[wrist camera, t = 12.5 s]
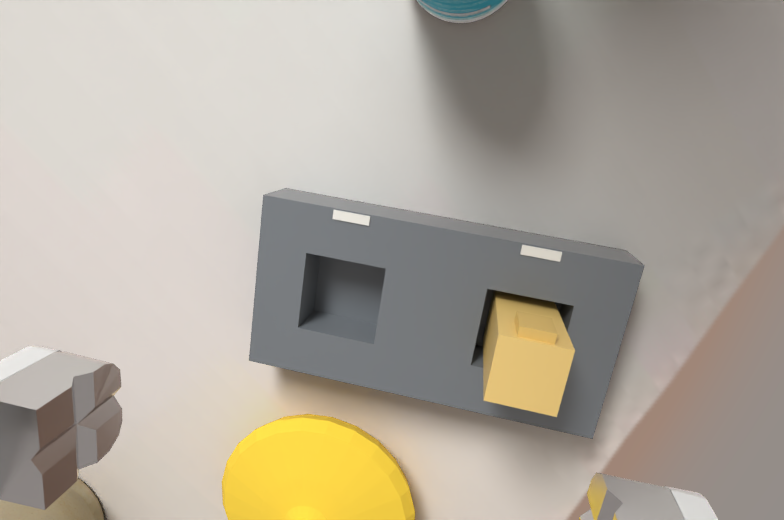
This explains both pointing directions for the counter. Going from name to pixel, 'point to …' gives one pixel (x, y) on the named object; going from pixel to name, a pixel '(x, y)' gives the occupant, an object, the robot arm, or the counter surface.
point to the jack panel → (428, 301)
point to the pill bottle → (461, 9)
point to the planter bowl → (58, 507)
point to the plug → (525, 354)
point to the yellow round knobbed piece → (314, 474)
